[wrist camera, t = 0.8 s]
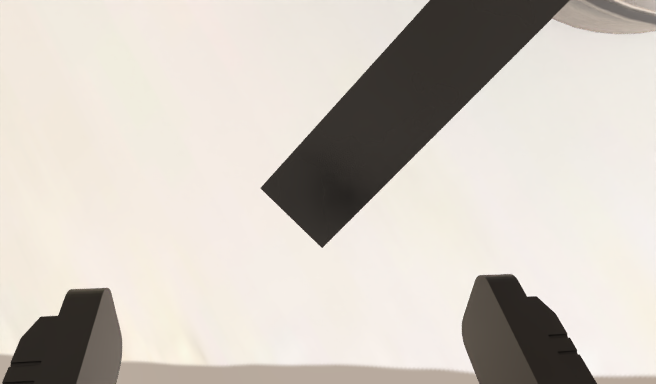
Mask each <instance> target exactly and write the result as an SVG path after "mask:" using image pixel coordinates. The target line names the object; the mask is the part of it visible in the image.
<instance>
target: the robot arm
mask: <svg viewBox="0 0 656 384" xmlns="http://www.w3.org/2000/svg"><path fill="white" fill-rule="evenodd" d="M462 336H463V342H464V345H465V348H466V351H467V353H468V356H469V358H470V361H471V363H472V366H473V369H474V371H475V374H476V376H477V379H478V381H479V384H597V383H596V381H595V380H594V378H593V376H592V375H591V373H590V371H589V369H588V368H587V366H586V364H585V363H584V361H583V359H582V358H581V356H580V355H578V354H577V349H576V348H575V346H574V344H573V342H572V341H571V339H570V338H568V337H567V332H566V331H565V329H564V327H563V326H562V324H561V322H560V320H559V319H558V317H557V315H556V314H555V313H554V312H553V311H552V310H551V309H550V308H549V307H548V306H546V305H545V304H544V303H543V302H542V301H541V300H540V299H539V298H538V297H537V296H535V297H527V296H526V294H525V292H524V291H523V289H522V287H521V285H520V283H519V282H518V280H517V278H516V277H515V276H514V275H512V274H503V275H480V276H478V277H477V278H476V280H475V283H474V286H473V289H472V292H471V295H470V298H469V301H468V304H467V307H466V310H465V314H464V317H463V320H462ZM121 358H122V336H121V331H120V327H119V323H118V319H117V315H116V311H115V306H114V302H113V298H112V294H111V291H110V289H109V288H95V289H71V290H69V291H68V292H67V294H66V296H65V299H64V301H63V304H62V307H61V310H60V312H59V315H58V316H47V317H40V318H39V319H38V320H37V321H36V322H35V323H34V325H33V326H32V327H31V328H30V329H29V330H28V331H27V332H26V333H25V334H24V335H23V336H22V338H21V339H20V341H19V344H18V346H17V349H16V351H15V353H14V356H13V358H12V361H11V367H9V368H8V370H7V373H6V375H5V377H4V380H3V382H2V383H3V384H116V382H117V378H118V373H119V369H120V364H121Z"/></svg>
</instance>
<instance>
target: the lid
mask: <svg viewBox="0 0 656 384" xmlns="http://www.w3.org/2000/svg"><path fill="white" fill-rule="evenodd" d="M569 1H570V0H430V1H429V2H428V3H427V4H426V5H425V6H424V8H423V9H422V10H421V11H420V12H419V13H418V14H417V15H416V16H415V18H414V19H413V20H412V21H411V22H410V23H409V24H408V25H407V26H406V27H405V29H404V30H403V31H402V32H401V33H400V34H399V35H398V36H397V37H396V39H395V40H394V41H393V42H392V43H391V44H390V45H389V46H388V47H387V49H386V50H385V51H384V52H383V53H382V54H381V55H380V56H379V57H378V59H377V60H376V61H375V62H374V63H373V64H372V65H371V66H370V67H369V68H368V70H367V71H366V72H365V73H364V74H363V75H362V76H361V77H360V78H359V80H358V81H357V82H356V83H355V84H354V85H353V86H352V87H351V88H350V90H349V91H348V92H347V93H346V94H345V95H344V96H343V97H342V98H341V99H340V101H339V102H338V103H337V104H336V105H335V106H334V107H333V108H332V109H331V111H330V112H329V113H328V114H327V115H326V116H325V117H324V118H323V119H322V121H321V122H320V123H319V124H318V125H317V126H316V127H315V128H314V129H313V131H312V132H311V133H310V134H309V135H308V136H307V137H306V138H305V139H304V140H303V142H302V143H301V144H300V145H299V146H298V147H297V148H296V149H295V150H294V152H293V153H292V154H291V155H290V156H289V157H288V158H287V159H286V160H285V162H284V163H283V164H282V165H281V166H280V167H279V168H278V169H277V170H276V172H275V173H274V174H273V175H272V176H271V177H270V178H269V179H268V180H267V181H266V183H265V184H264V185H263V186H262V187H261V189H262V190H263V191H264V192H265V193H266V194H267V195H268V196H269V197H270V198H271V199H272V200H273V201H274V202H275V203H276V204H277V205H278V206H279V207H280V208H281V209H282V210H283V211H285V212H286V213H287V214H288V215H289V216H290V217H291V218H292V219H293V220H294V221H295V222H296V223H297V224H298V225H299V226H300V227H301V228H302V229H303V230H304V231H305V232H306V233H307V234H308V235H309V236H310V237H311V238H312V239H313V240H314V241H315V242H316V243H318V244H319V245H320V246H321V247H322V248H323V247H324V246H325V245H326V244H327V243H328V242H329V241H330V240H331V239H332V238H333V237H334V236H335V235H336V234H337V233H338V232H339V231H340V230H341V229H342V228H343V227H344V226H345V225H346V224H347V223H348V222H349V221H350V220H351V219H352V218H353V217H354V216H355V215H356V214H357V213H358V212H359V211H360V210H361V209H362V208H363V207H364V206H365V205H366V204H367V203H368V202H369V201H370V200H371V199H372V198H373V197H374V196H375V195H376V194H377V193H378V192H379V191H380V190H381V189H382V188H383V187H384V186H385V185H386V184H387V183H388V182H389V181H390V180H391V179H392V178H393V177H394V176H395V175H396V174H397V173H398V172H399V171H400V170H401V169H402V168H403V167H404V166H405V165H406V164H407V163H408V162H409V161H410V160H411V159H412V158H413V157H414V156H415V155H416V154H417V153H418V152H419V151H420V150H421V149H422V148H423V147H424V146H425V145H426V144H427V143H428V142H429V141H430V140H431V139H432V138H433V137H434V136H435V135H436V134H437V133H438V132H439V131H440V130H441V129H442V128H443V127H444V126H445V125H446V124H447V123H448V122H449V121H450V120H451V119H452V118H453V117H454V116H455V115H456V114H457V113H458V112H459V111H460V110H461V109H462V108H463V107H464V106H465V105H466V104H467V103H468V102H469V101H470V100H471V99H472V98H473V97H474V96H475V95H476V94H477V93H478V92H479V91H480V90H481V89H482V88H483V87H484V86H485V85H486V84H487V83H488V82H489V81H490V80H491V79H492V78H493V77H494V76H495V75H496V74H497V73H498V72H499V71H500V70H501V69H502V68H503V67H504V66H505V65H506V64H507V63H508V62H509V61H510V60H511V59H512V58H513V57H514V56H515V55H516V54H517V53H518V52H519V51H520V50H521V49H522V48H523V47H524V46H525V45H526V44H527V43H528V42H529V41H530V40H531V39H532V38H533V37H534V36H535V35H536V34H537V33H538V32H539V31H540V30H541V29H542V28H543V27H544V26H545V25H546V24H547V23H548V22H549V21H550V20H551V19H552V18H553V17H554V16H555V15H556V14H557V13H558V12H559V11H560V10H561V9H562V8H563V7H564V6H565V5H566V4H567V3H568V2H569ZM605 1H608V2H610V3H612V4H615V5H617V6H620V7H622V8H624V9H627V10H631V11H635V12H639V13H642V14H646V15H650V16H654V17H656V0H605Z"/></svg>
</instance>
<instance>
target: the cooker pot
mask: <svg viewBox="0 0 656 384" xmlns="http://www.w3.org/2000/svg"><path fill="white" fill-rule="evenodd" d="M552 19H554V20H556V21H559V22H562V23H564V24H567V25H570V26H572V27H575V28H580V29H584V30H589V31H593V32H600V33H611V34H635V33H645V32H652V31H656V17H654V16H650V15H646V14H642V13H639V12H635V11H631V10H627V9H624V8H622V7H620V6H617V5H615V4H612V3H610V2H608V1H605V0H570V1H569V2H568V3H567V4H566V5H565V6H564V7H563V8H562V9H561V10H560V11H559V12H558V13H557V14H556V15H555V16H554V17H553V18H552Z"/></svg>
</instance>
